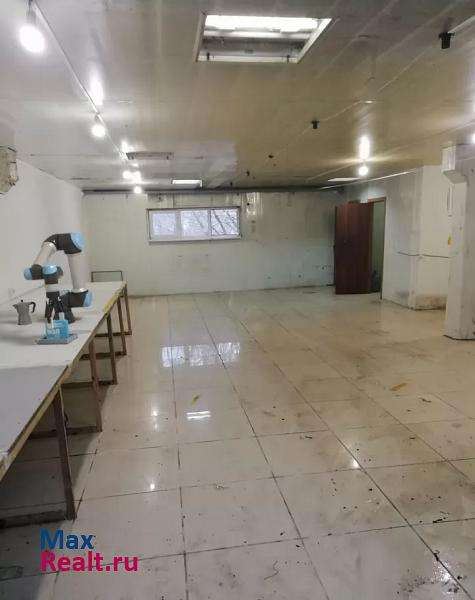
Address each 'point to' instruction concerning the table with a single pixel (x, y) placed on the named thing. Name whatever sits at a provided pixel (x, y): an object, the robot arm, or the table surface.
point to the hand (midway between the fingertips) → (56, 325)
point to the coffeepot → (24, 312)
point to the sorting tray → (58, 340)
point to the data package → (58, 330)
